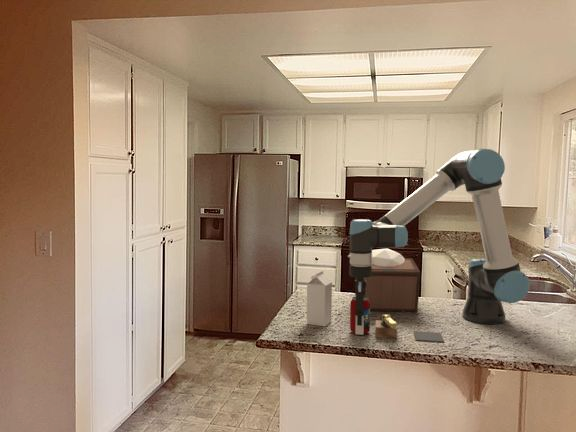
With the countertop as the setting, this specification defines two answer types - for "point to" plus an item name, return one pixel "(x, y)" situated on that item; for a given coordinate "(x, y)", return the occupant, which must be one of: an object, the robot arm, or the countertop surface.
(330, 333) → the countertop surface
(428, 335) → the mat
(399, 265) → the tissue box
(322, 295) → the milk carton
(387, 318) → the lever
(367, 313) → the beverage can
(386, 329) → the pedestal
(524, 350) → the countertop surface
